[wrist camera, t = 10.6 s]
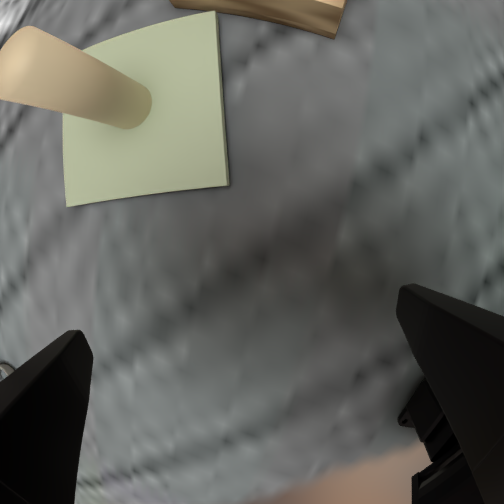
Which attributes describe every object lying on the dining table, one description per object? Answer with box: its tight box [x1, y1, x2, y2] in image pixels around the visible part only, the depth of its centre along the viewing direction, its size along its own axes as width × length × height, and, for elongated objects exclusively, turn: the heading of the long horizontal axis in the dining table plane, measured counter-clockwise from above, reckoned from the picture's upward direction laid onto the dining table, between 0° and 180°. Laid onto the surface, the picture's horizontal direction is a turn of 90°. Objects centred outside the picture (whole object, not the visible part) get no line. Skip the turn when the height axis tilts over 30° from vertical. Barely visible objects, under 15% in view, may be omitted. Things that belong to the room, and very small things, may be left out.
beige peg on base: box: [0, 11, 230, 207], centre depth 13 cm, size 11×11×11 cm
